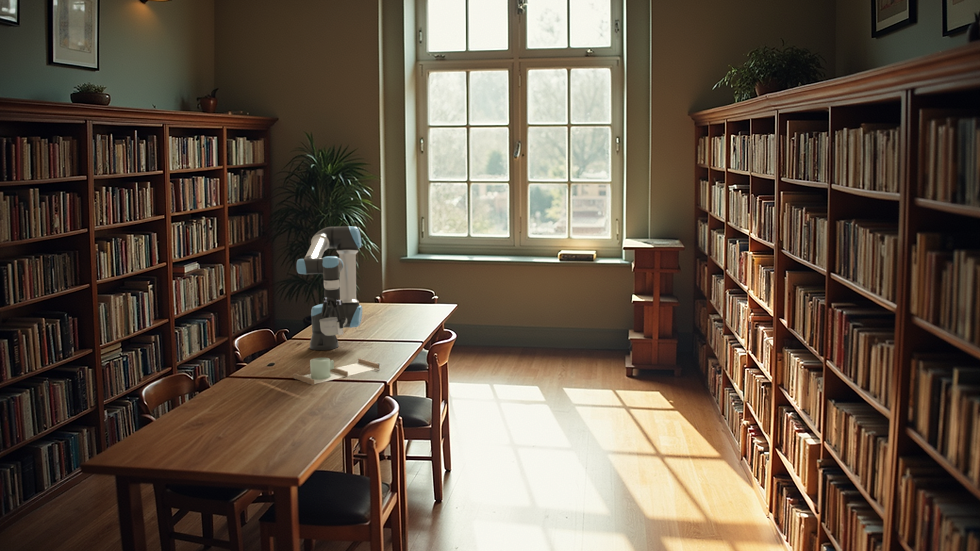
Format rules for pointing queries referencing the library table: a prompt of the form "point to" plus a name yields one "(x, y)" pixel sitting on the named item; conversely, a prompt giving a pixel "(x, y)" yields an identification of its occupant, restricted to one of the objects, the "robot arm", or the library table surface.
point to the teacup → (330, 326)
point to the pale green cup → (321, 368)
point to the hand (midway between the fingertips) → (334, 333)
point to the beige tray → (342, 371)
